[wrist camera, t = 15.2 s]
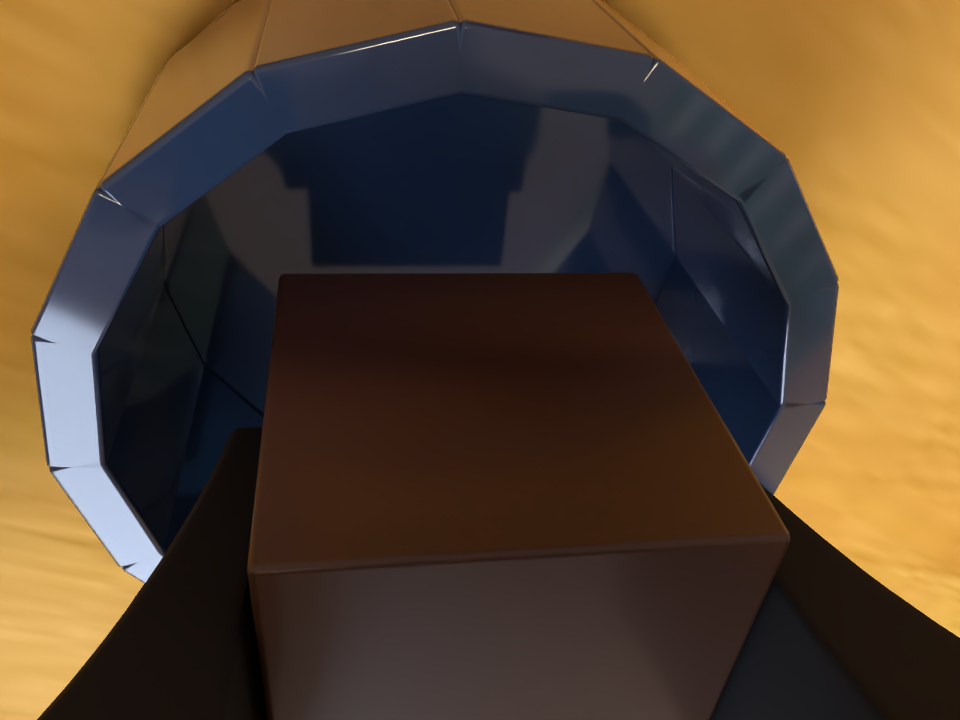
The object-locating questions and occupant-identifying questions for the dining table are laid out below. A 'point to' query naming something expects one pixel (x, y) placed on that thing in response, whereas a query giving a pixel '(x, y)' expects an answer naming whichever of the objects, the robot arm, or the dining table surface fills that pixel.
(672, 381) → the walnut block
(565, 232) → the grey open cylinder
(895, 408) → the dining table surface
